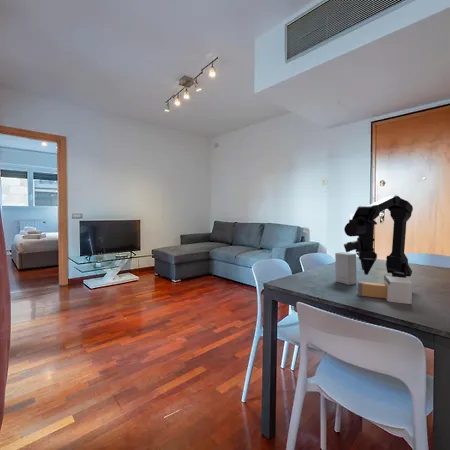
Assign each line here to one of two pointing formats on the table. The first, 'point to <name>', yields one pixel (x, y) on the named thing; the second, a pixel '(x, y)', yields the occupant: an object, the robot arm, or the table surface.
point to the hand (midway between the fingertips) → (364, 272)
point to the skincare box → (345, 268)
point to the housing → (398, 289)
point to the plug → (372, 289)
